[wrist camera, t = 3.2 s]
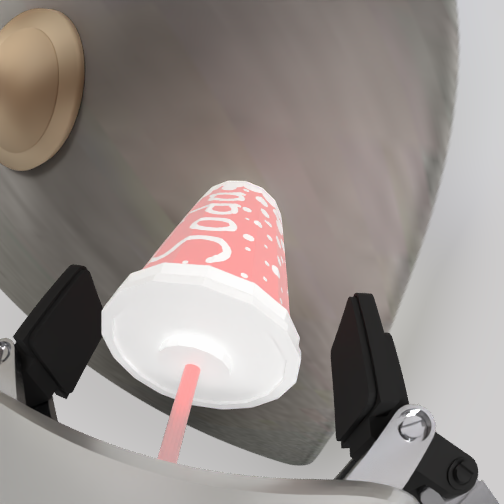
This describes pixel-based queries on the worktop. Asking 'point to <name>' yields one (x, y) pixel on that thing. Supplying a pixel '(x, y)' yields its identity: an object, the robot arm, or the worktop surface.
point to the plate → (38, 86)
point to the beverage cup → (210, 311)
